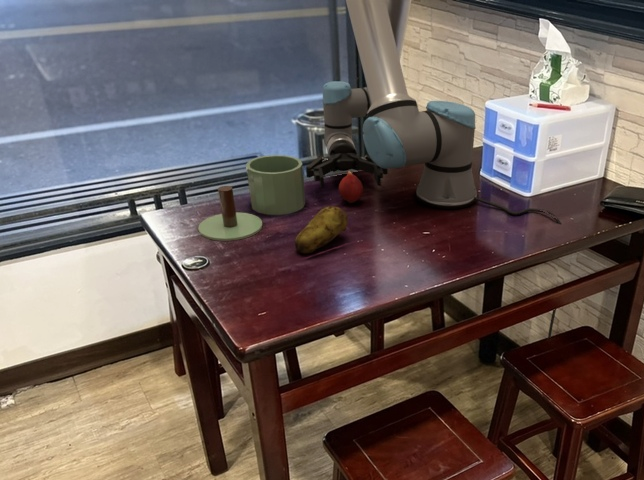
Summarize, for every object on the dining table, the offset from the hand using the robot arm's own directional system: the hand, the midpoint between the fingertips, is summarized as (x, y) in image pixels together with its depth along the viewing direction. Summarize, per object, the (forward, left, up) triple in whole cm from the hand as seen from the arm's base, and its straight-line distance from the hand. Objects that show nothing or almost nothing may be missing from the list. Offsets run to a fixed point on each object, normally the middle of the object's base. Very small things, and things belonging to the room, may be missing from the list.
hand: (351, 181), depth 147 cm
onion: (+1, -1, -6) cm, 6 cm away
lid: (+5, +29, -5) cm, 30 cm away
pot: (+10, +14, -6) cm, 19 cm away
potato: (-14, +18, -6) cm, 24 cm away
